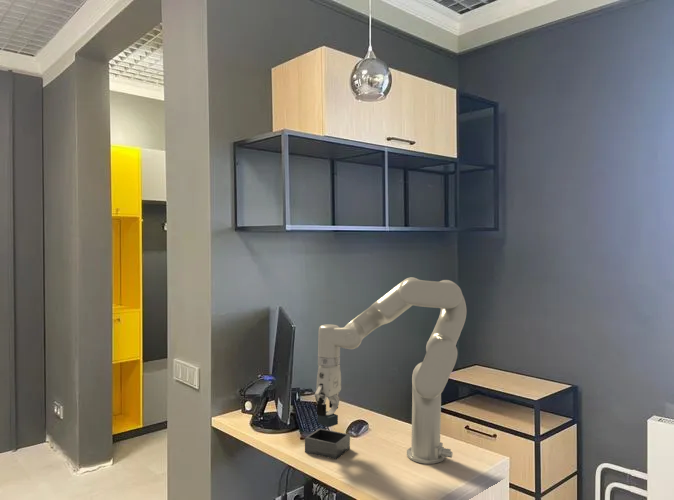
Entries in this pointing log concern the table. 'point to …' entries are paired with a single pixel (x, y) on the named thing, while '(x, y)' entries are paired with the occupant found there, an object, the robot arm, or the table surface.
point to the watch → (330, 413)
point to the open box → (327, 443)
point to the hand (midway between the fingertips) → (327, 411)
